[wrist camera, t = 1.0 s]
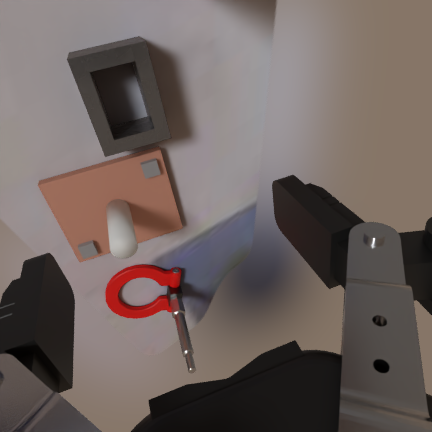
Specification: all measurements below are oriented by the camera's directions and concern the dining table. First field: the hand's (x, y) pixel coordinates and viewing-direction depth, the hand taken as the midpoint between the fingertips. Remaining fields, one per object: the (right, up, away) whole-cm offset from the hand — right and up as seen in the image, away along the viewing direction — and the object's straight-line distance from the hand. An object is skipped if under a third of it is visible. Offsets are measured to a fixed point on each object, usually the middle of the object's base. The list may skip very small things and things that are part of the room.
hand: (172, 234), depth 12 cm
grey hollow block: (-7, +12, +19) cm, 24 cm away
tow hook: (-8, -9, +32) cm, 34 cm away
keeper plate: (-9, +2, +25) cm, 26 cm away
